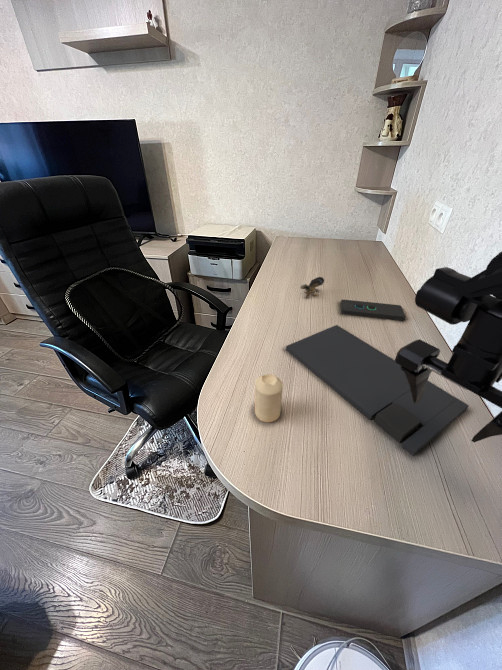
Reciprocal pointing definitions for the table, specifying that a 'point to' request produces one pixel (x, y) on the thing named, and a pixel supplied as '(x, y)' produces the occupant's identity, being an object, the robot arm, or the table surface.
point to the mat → (374, 382)
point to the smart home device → (372, 310)
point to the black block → (397, 421)
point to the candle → (268, 397)
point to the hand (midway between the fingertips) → (443, 419)
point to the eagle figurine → (312, 286)
